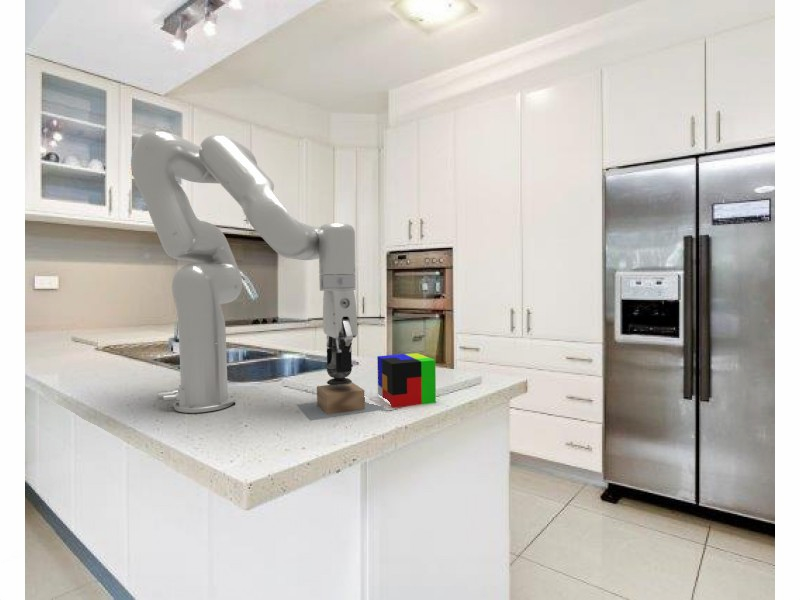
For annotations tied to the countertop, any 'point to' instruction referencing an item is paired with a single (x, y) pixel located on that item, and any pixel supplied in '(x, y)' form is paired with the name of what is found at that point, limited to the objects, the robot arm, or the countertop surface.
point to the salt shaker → (331, 368)
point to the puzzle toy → (407, 379)
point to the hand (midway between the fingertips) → (339, 367)
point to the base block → (340, 398)
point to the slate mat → (317, 413)
